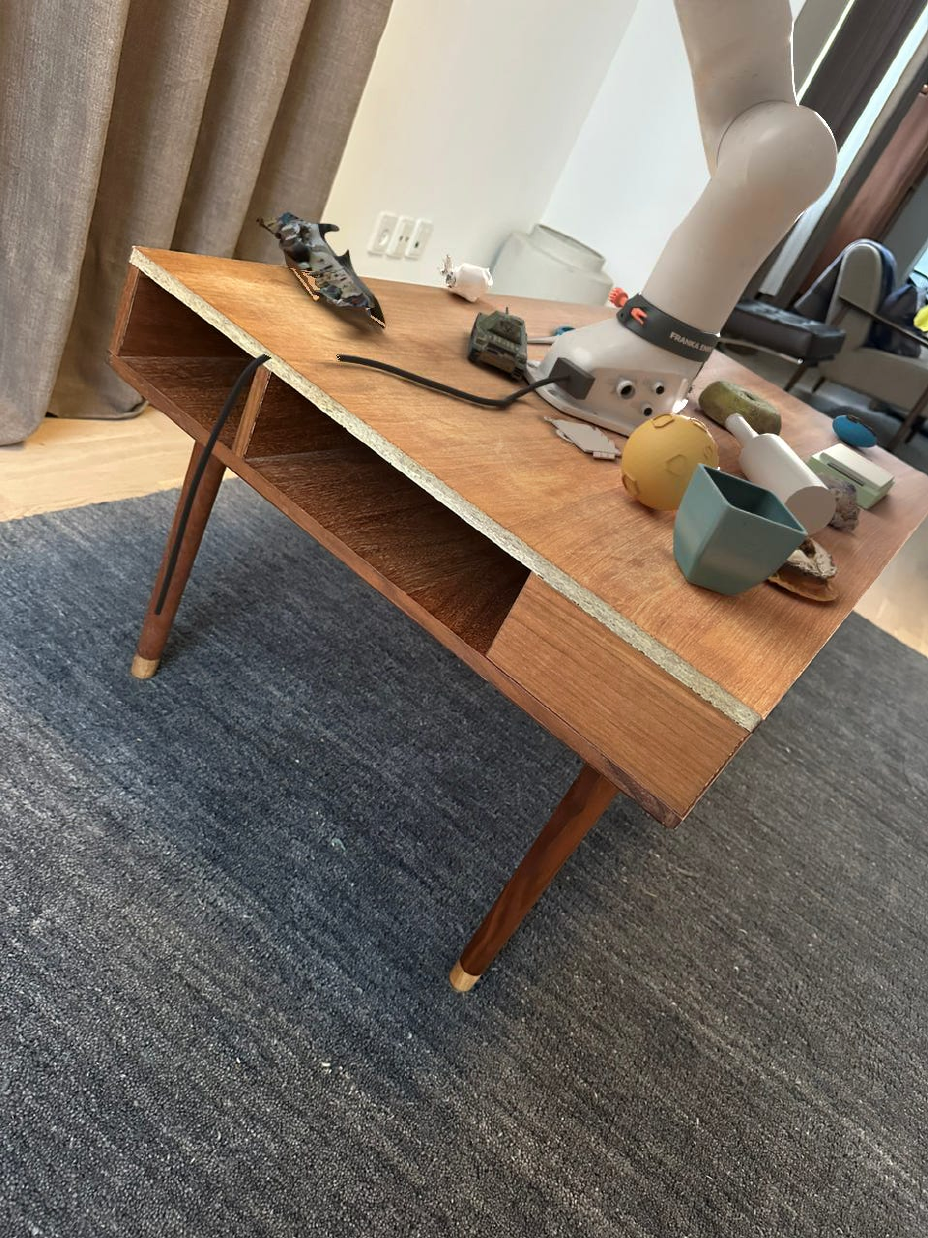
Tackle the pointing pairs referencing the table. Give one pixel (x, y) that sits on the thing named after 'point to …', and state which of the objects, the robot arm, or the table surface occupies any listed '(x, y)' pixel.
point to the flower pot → (732, 532)
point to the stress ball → (666, 459)
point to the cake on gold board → (809, 572)
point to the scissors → (551, 339)
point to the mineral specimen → (842, 501)
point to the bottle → (783, 475)
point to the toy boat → (321, 263)
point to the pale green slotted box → (854, 473)
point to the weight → (740, 407)
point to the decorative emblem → (586, 438)
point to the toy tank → (500, 342)
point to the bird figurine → (466, 279)
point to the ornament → (854, 431)
